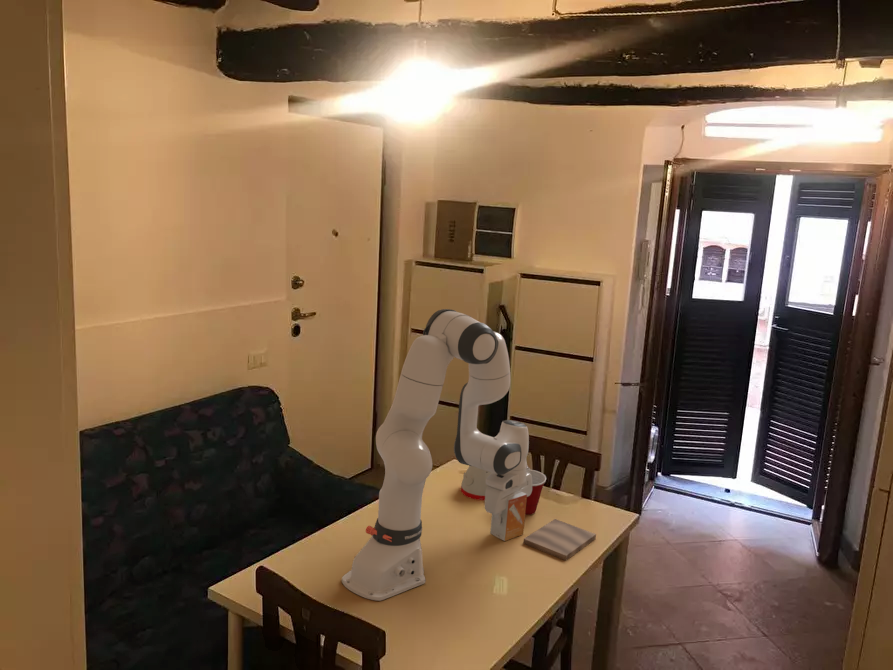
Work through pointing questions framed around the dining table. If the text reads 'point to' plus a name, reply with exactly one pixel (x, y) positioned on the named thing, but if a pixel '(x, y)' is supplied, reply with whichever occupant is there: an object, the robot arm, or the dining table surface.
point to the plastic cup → (535, 491)
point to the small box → (511, 518)
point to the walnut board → (559, 539)
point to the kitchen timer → (474, 483)
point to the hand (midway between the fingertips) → (507, 517)
